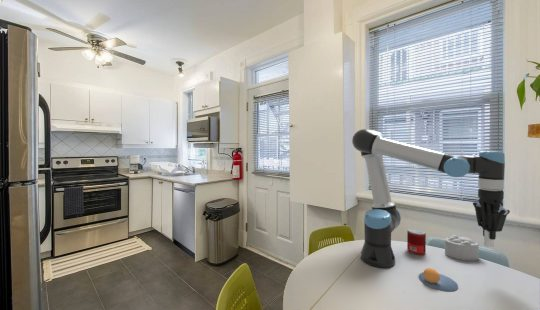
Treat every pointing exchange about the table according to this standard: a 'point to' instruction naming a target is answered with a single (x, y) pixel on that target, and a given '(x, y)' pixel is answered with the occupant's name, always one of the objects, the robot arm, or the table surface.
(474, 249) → the lumpy-topped squat cylinder
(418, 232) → the canned food
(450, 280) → the disc
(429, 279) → the ball
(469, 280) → the table surface
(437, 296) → the table surface
